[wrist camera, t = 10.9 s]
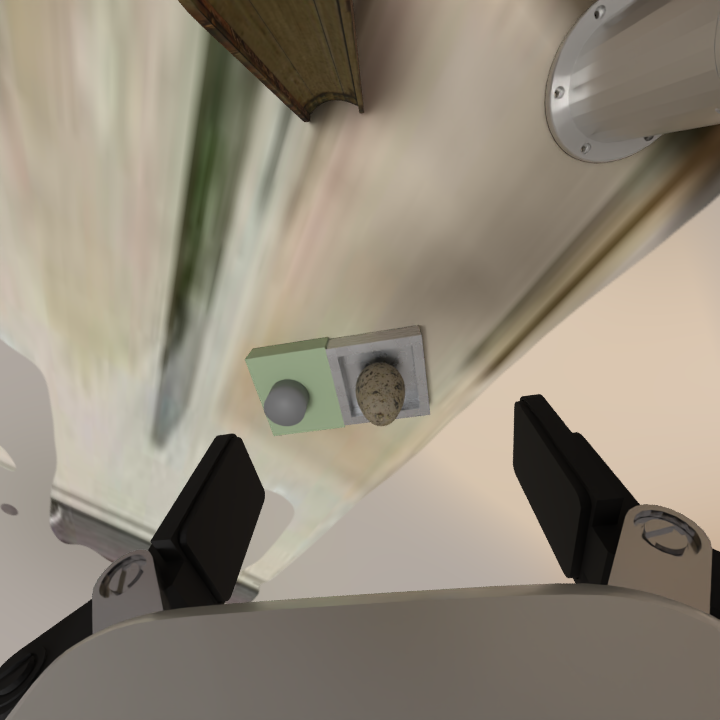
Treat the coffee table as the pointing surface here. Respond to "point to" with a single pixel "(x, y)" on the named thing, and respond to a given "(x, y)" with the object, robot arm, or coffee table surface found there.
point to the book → (290, 46)
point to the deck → (305, 372)
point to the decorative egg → (380, 393)
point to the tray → (375, 347)
